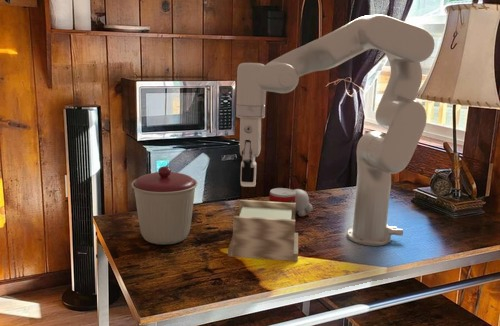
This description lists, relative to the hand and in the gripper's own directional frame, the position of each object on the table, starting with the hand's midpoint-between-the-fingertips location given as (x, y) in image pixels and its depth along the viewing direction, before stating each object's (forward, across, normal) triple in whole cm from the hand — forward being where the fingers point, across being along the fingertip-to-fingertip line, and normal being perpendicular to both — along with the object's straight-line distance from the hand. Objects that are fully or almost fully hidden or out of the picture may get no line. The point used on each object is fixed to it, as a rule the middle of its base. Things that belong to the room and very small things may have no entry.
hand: (248, 178), depth 132 cm
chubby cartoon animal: (+20, +28, -13) cm, 36 cm away
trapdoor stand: (+20, 0, -5) cm, 20 cm away
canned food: (+20, +18, -9) cm, 28 cm away
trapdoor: (+12, 0, -5) cm, 13 cm away
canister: (+20, +2, +23) cm, 31 cm away
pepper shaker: (+2, 0, 0) cm, 2 cm away
